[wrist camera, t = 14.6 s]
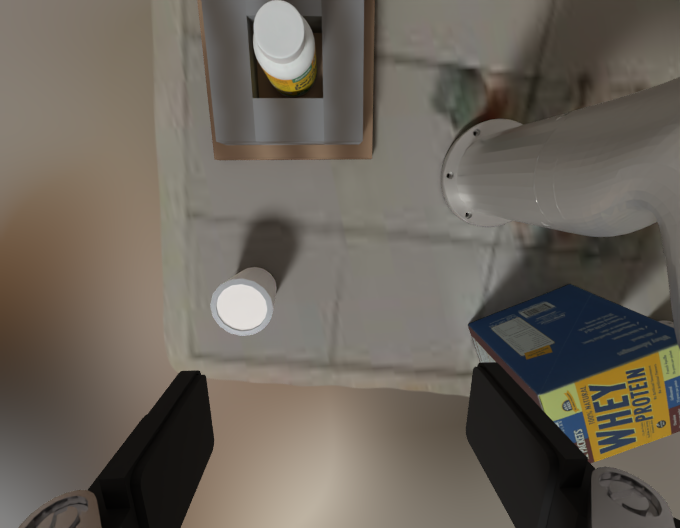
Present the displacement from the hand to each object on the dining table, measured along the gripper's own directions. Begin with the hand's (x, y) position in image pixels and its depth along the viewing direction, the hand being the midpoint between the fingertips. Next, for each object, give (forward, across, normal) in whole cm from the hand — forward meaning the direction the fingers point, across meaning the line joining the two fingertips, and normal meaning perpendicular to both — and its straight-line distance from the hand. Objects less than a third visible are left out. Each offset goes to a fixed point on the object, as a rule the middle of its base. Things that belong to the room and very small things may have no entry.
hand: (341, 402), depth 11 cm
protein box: (+31, -28, +14) cm, 44 cm away
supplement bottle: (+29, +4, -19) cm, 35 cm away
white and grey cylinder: (+31, +10, +6) cm, 33 cm away
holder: (+30, +4, -19) cm, 36 cm away
